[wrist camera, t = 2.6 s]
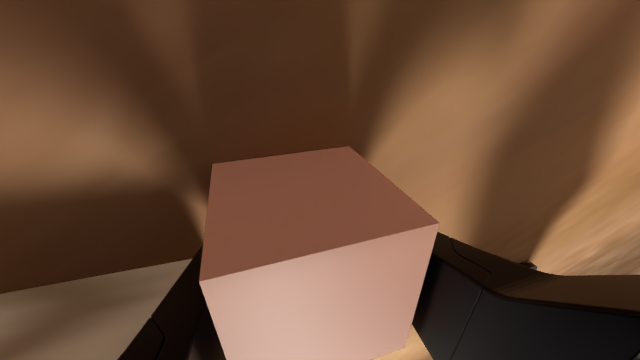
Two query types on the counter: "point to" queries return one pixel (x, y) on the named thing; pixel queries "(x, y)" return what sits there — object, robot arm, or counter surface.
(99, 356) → the birch block
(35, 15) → the counter surface
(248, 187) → the cube
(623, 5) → the counter surface
